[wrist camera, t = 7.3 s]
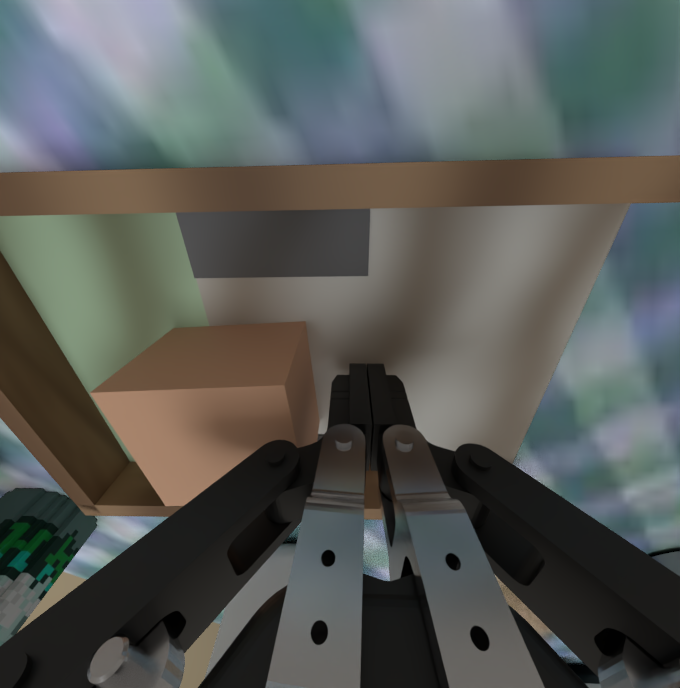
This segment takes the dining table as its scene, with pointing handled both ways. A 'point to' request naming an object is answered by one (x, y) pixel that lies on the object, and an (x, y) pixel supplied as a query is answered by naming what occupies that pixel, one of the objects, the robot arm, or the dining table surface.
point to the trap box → (303, 288)
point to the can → (35, 549)
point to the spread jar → (586, 675)
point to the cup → (252, 598)
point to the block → (211, 402)
